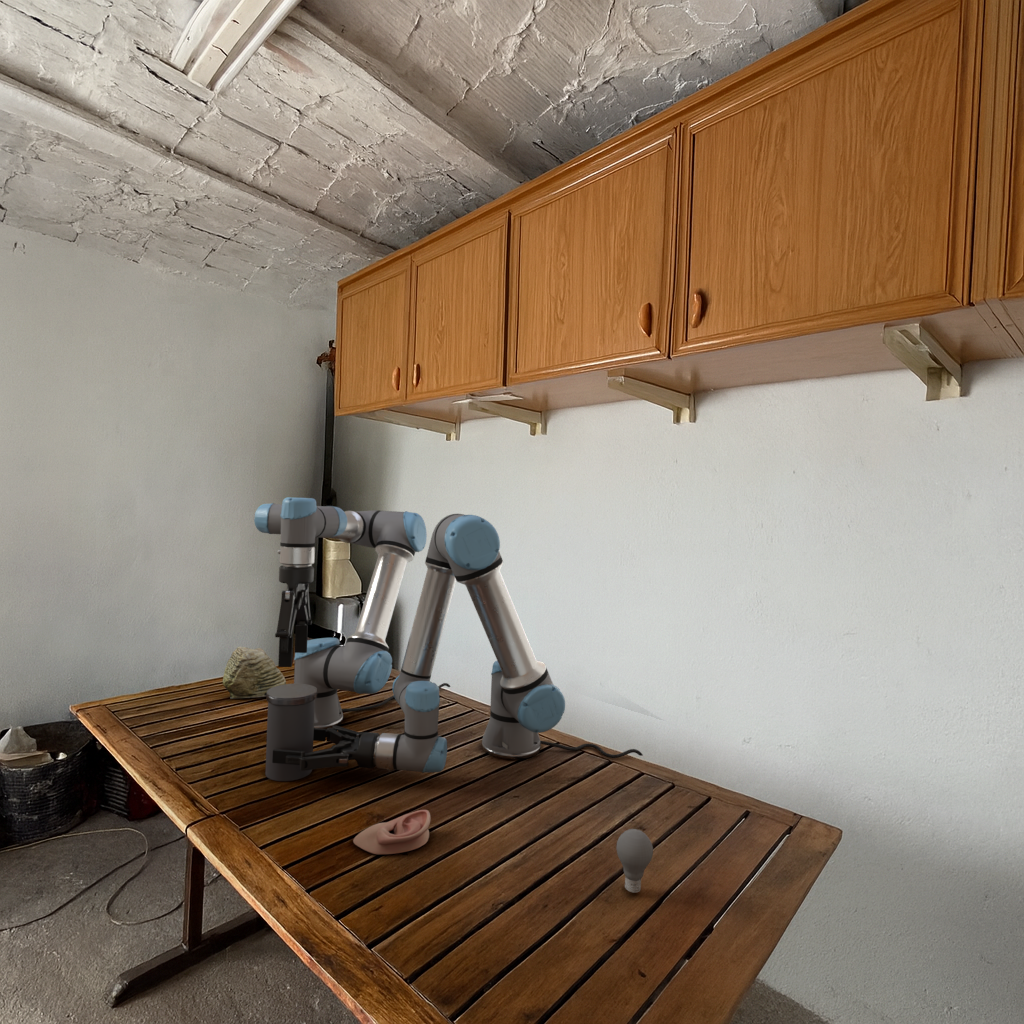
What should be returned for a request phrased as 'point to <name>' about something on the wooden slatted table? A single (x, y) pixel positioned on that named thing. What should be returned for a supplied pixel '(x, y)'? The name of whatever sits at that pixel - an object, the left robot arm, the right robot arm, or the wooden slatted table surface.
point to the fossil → (251, 673)
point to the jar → (289, 738)
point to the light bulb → (634, 857)
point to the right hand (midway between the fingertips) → (286, 744)
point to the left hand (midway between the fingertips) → (293, 659)
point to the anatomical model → (396, 834)
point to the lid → (291, 694)
